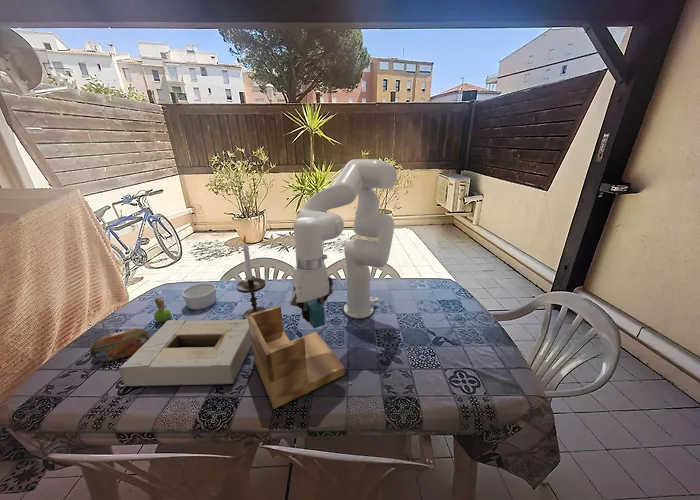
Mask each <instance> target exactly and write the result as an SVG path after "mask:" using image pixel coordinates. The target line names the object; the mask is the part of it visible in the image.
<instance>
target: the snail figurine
mask: <svg viewBox="0 0 700 500" xmlns="http://www.w3.org/2000/svg"><path fill="white" fill-rule="evenodd" d="M163 298H164V296H161V297H155V298H154V303H155V305H156V308H157V310H156V311H155V312H154V314H153V318H154V320H155V321H156V322H158V323H166V321H168V320H170V318H171V311H170V310H169V309H168V308H165V307H166V306H165V300H164V299H163Z"/></svg>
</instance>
